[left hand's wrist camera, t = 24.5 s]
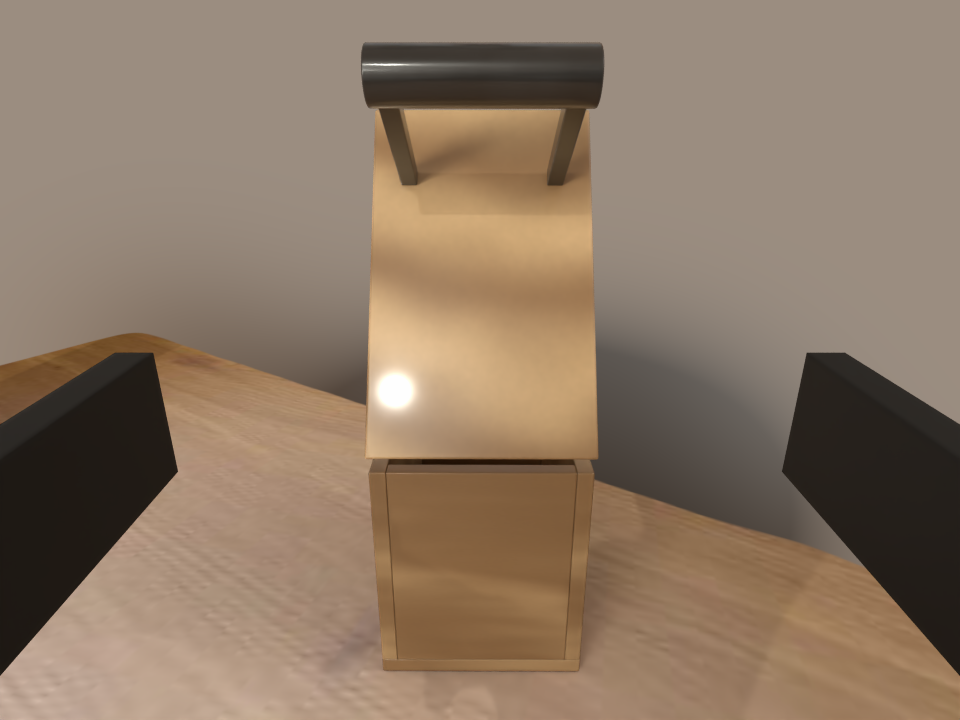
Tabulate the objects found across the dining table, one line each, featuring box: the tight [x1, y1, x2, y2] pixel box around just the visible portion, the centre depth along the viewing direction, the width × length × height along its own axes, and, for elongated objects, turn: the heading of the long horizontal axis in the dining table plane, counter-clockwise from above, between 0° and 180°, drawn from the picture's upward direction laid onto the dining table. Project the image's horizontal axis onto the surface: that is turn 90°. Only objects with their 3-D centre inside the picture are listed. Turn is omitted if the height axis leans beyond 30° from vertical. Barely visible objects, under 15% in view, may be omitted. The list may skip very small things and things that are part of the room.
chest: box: [369, 459, 595, 671], centre depth 33 cm, size 14×9×11 cm, turn 0°
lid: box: [361, 42, 604, 460], centre depth 22 cm, size 15×9×9 cm
